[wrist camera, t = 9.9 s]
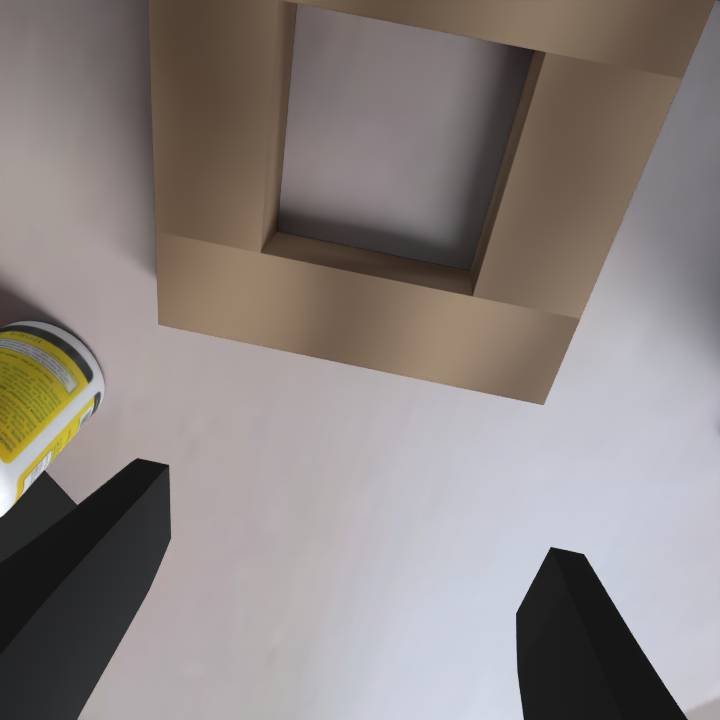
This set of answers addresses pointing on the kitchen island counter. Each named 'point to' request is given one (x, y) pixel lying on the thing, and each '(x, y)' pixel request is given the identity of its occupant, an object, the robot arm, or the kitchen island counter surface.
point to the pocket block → (388, 272)
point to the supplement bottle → (41, 400)
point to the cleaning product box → (33, 514)
